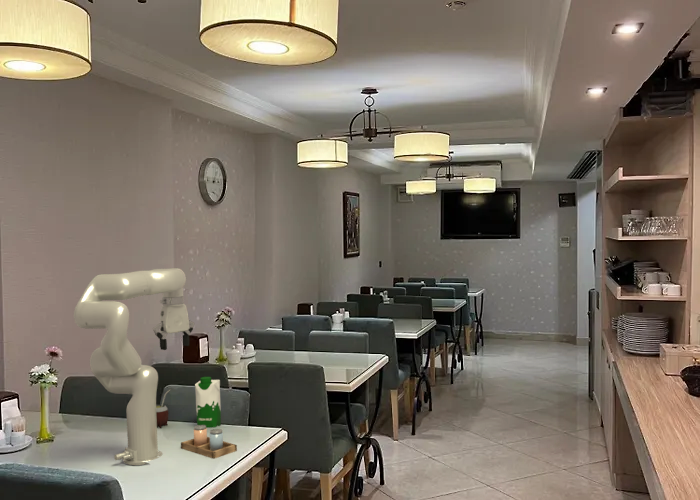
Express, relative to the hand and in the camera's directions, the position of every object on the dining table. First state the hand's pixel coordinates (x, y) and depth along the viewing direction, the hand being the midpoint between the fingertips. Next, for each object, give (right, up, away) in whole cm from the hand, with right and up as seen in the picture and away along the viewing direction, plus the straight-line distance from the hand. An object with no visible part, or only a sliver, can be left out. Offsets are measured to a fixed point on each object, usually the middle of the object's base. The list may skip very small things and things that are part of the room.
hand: (175, 347), depth 245 cm
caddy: (+17, -33, -20) cm, 42 cm away
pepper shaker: (+13, -32, -17) cm, 38 cm away
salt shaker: (+20, -32, -23) cm, 44 cm away
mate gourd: (-10, -34, +15) cm, 38 cm away
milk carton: (+10, -33, +11) cm, 36 cm away
